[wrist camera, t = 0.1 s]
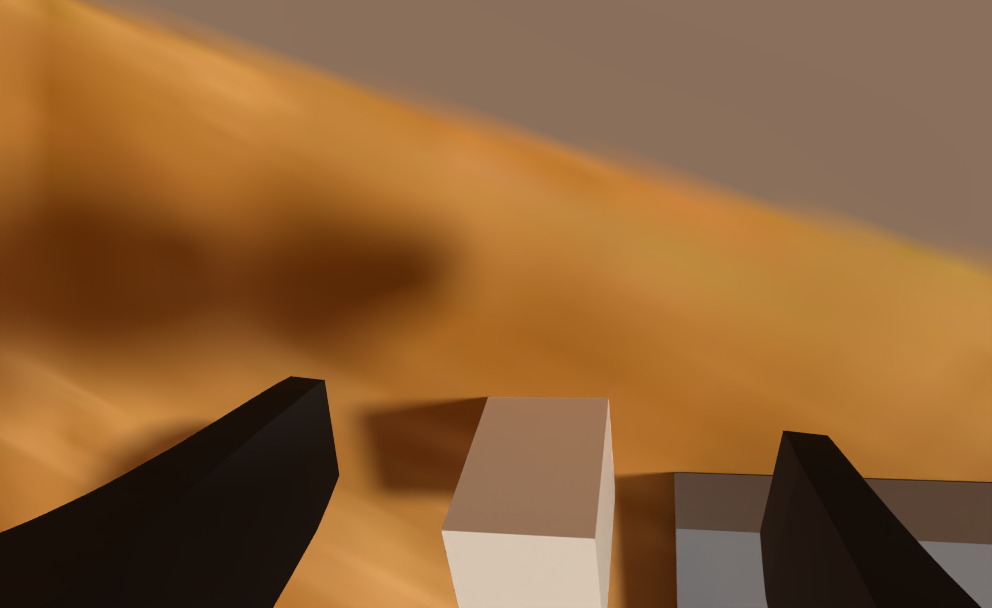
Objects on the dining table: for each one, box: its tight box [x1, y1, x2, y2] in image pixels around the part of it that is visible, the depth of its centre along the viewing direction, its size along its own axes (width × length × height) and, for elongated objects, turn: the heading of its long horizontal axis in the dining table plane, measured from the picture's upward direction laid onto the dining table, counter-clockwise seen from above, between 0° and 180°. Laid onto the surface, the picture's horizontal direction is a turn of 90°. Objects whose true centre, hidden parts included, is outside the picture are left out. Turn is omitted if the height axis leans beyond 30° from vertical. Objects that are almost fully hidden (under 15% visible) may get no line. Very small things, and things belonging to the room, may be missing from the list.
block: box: [441, 397, 615, 608], centre depth 21 cm, size 4×4×6 cm
